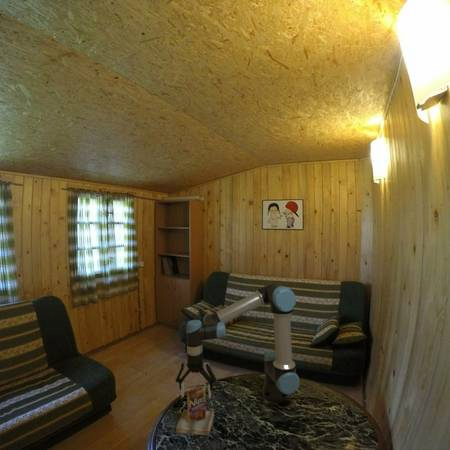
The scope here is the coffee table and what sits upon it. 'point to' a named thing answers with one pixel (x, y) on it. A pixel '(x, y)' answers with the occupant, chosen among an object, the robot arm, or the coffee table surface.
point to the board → (195, 424)
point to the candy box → (196, 403)
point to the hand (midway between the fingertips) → (196, 396)
